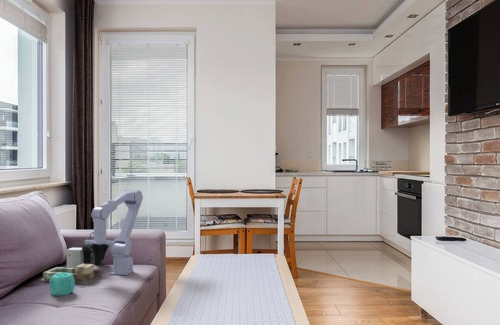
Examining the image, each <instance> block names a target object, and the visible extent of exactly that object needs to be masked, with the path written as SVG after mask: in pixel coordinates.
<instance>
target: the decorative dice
mask: <svg viewBox="0 0 500 325" xmlns="http://www.w3.org/2000/svg"><path fill="white" fill-rule="evenodd" d="M75 285H76V284H75V281H74V277H73V275H72V274H71V273H58V274H55V275H53V276H52V277H51V279H50V282H49V290H50V293H51V295H52V296H54V295H55V296H56V297H62V296H61V295H63V296H67V295H70V294H72V293H73V291H74V290H75Z"/></svg>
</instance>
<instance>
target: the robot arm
mask: <svg viewBox="0 0 500 325" xmlns="http://www.w3.org/2000/svg"><path fill="white" fill-rule="evenodd" d="M143 199H144V196H143V193H142V191H141V190H133V189H132V190H130V189H124V190H122V191H121V193H120V194H119V195H118V196H116V197H115V198H114V199H107V200H106V202H105V203H102V204H100V206H96V207H94V208H92V211H91V214H90V215H91V218H92V222H93V232H94V234H93V238H94V240H88V239H85V240H86V241H85V244H86V245H87V244H92V246H91V249H92V250H93V252H94V255H95V259H96V260H98V259H99V257H100V260H102V261H104V260H105V256H106V253H107V250H108V248H109V252H110V254H111V257H112V256H113V259H112V260H113V264H112V267H113V270H112V272H109V275H118V276H119V275H120V276H127V275H130V274H131V273H133V272H134V270H133V269H134V259H133V257H132V256H130V255H131V252H132V246H133V242H132V241H131V239H130V238H131V234H132V231H133V228H134V225H135V223H136V220H137V216H138V214H139V210H140V207H141V205H142V202H143ZM123 203H124V204H125V206H126V207H127V212H126V216H125V217H124V221H123V224H122V227H121V229H120V233H119V236H117V237H116V238H114V239H113V240H107V219H108V218H109V217H110V215H111V214H112V213H113V212H114V211H116V210H117V209H118V206H119V205H121V204H123ZM101 245H102V246H101Z"/></svg>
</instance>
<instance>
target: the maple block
mask: <svg viewBox="0 0 500 325" xmlns="http://www.w3.org/2000/svg"><path fill="white" fill-rule="evenodd" d="M94 269H95V263H93V264H81V265H79V266H76V274H90V278H92V277H93V276H94Z"/></svg>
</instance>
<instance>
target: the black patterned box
mask: <svg viewBox="0 0 500 325" xmlns="http://www.w3.org/2000/svg"><path fill="white" fill-rule="evenodd" d="M92 234H93V235H94V231H93V232H91V233H90V235H89V238H88V239H84V240H83V241H82V245H81V246H82V247H81V248H82V250H83V263H84V264H94V266H101V265H102V264H103V260H100V257H99V259H98V260H96V259H95V255H94V252H93V250H92V249H91V246H92V244H87V245H86V244H85V241H86V240H94V237H93V238H92V237H91V236H92ZM101 246H102V245H101Z"/></svg>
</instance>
